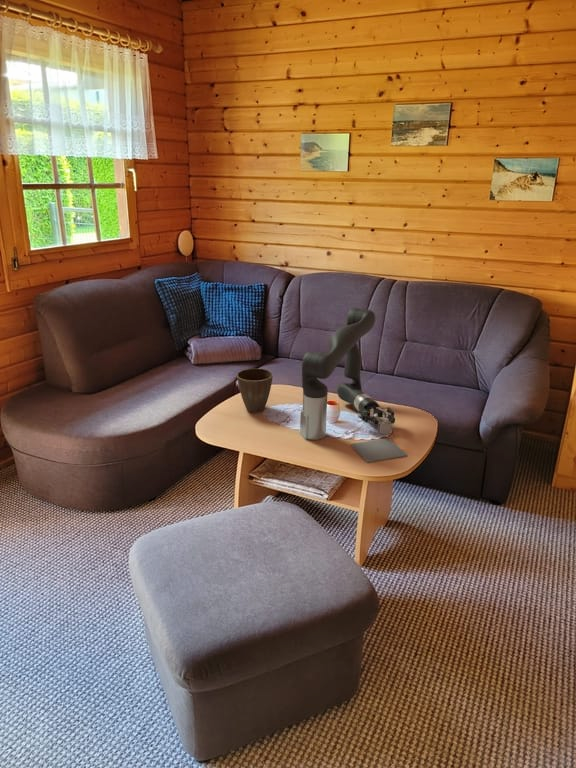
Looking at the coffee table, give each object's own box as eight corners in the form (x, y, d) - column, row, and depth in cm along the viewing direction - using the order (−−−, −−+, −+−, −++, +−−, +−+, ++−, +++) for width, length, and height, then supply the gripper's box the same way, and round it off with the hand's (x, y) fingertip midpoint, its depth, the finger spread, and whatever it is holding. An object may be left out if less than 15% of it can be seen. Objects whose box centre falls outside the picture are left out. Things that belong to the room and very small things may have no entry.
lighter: (390, 432, 218) (392, 413, 216) (390, 434, 217) (392, 415, 214) (372, 431, 219) (373, 412, 216) (372, 433, 217) (374, 414, 214)
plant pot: (252, 419, 227) (252, 383, 221) (230, 408, 237) (229, 373, 231) (279, 410, 236) (280, 375, 230) (257, 399, 246) (257, 365, 241)
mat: (367, 462, 195) (367, 461, 195) (350, 445, 207) (350, 443, 207) (407, 456, 200) (407, 455, 200) (388, 439, 212) (388, 438, 212)
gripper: (350, 399, 224) (369, 415, 209) (382, 395, 228) (403, 411, 213) (349, 416, 226) (368, 433, 212) (381, 412, 231) (401, 428, 216)
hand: (385, 422), depth 212 cm, fingers closed on lighter, 6 cm apart
